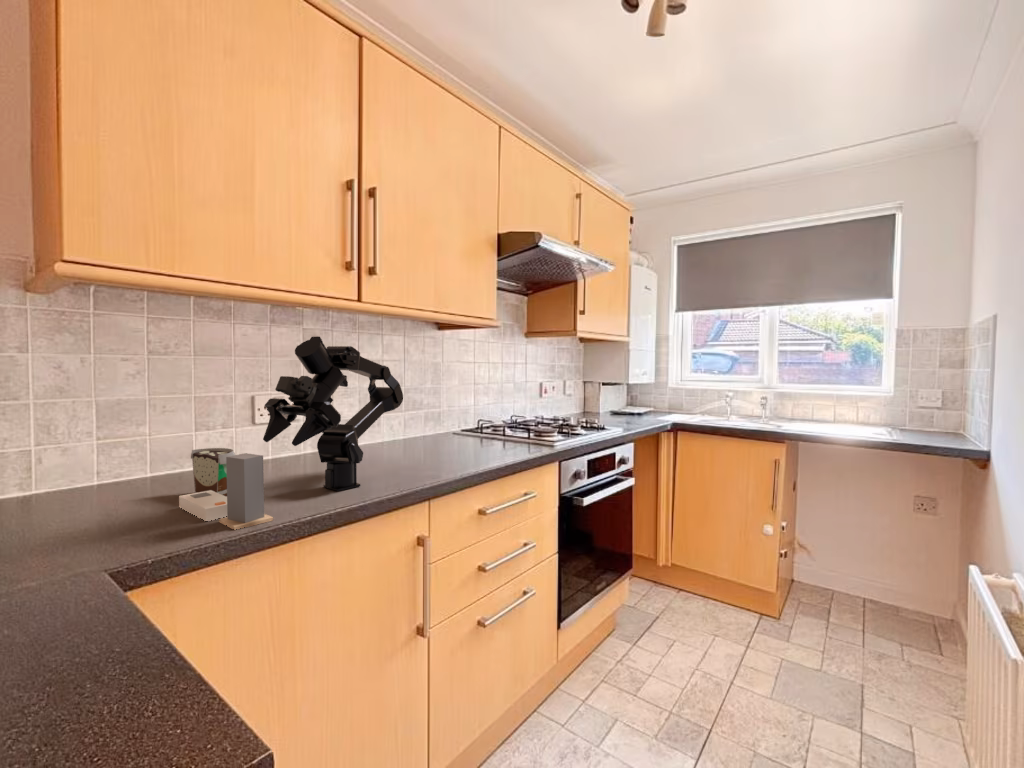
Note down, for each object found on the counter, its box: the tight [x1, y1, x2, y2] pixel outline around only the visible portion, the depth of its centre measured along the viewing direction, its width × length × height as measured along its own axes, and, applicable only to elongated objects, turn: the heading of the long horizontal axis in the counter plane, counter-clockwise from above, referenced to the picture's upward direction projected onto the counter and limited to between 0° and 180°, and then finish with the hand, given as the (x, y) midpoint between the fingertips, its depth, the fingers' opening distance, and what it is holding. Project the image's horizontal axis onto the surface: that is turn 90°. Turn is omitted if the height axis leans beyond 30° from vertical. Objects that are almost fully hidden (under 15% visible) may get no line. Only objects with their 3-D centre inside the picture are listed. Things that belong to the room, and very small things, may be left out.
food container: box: [190, 447, 236, 497], centre depth 113 cm, size 12×6×10 cm, turn 59°
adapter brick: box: [226, 453, 265, 523], centre depth 93 cm, size 4×5×12 cm
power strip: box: [178, 490, 228, 522], centre depth 101 cm, size 6×19×3 cm, turn 52°
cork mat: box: [218, 513, 274, 531], centre depth 93 cm, size 7×7×1 cm
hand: (278, 442), depth 102 cm, fingers open, 9 cm apart
